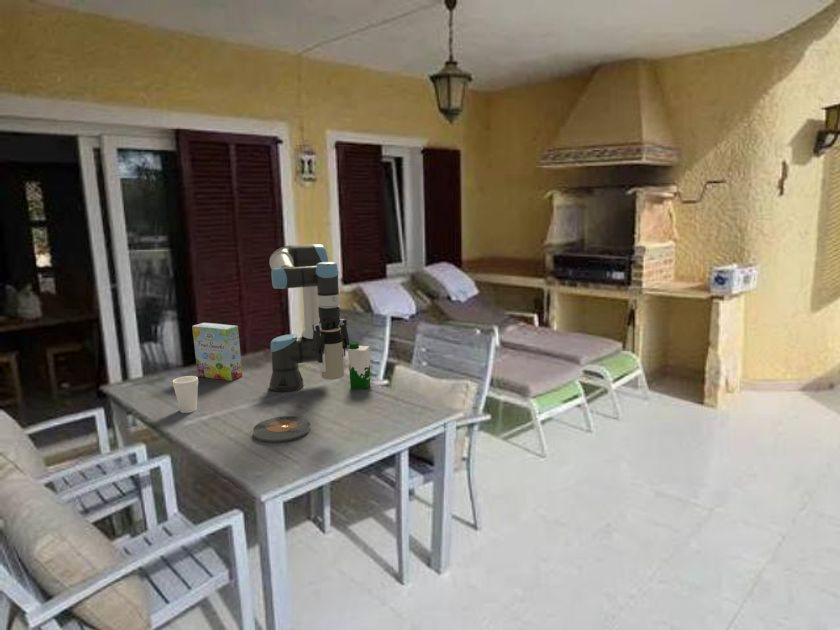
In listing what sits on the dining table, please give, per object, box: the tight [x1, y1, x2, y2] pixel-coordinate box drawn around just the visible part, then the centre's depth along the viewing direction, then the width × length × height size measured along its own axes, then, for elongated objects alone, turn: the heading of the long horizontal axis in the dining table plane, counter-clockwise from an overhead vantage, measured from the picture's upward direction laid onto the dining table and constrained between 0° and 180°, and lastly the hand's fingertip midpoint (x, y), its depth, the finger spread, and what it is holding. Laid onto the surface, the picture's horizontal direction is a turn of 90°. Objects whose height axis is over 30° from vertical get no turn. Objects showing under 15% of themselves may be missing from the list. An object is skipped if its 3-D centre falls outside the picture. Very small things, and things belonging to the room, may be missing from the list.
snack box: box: [191, 322, 243, 382], centre depth 270 cm, size 22×9×26 cm, turn 67°
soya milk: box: [347, 342, 371, 390], centre depth 251 cm, size 9×9×20 cm
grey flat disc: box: [252, 415, 311, 444], centre depth 204 cm, size 20×20×2 cm
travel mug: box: [320, 326, 345, 381], centre depth 201 cm, size 8×8×18 cm
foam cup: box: [172, 375, 199, 414], centre depth 227 cm, size 10×9×13 cm
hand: (332, 368), depth 203 cm, fingers closed on travel mug, 8 cm apart
